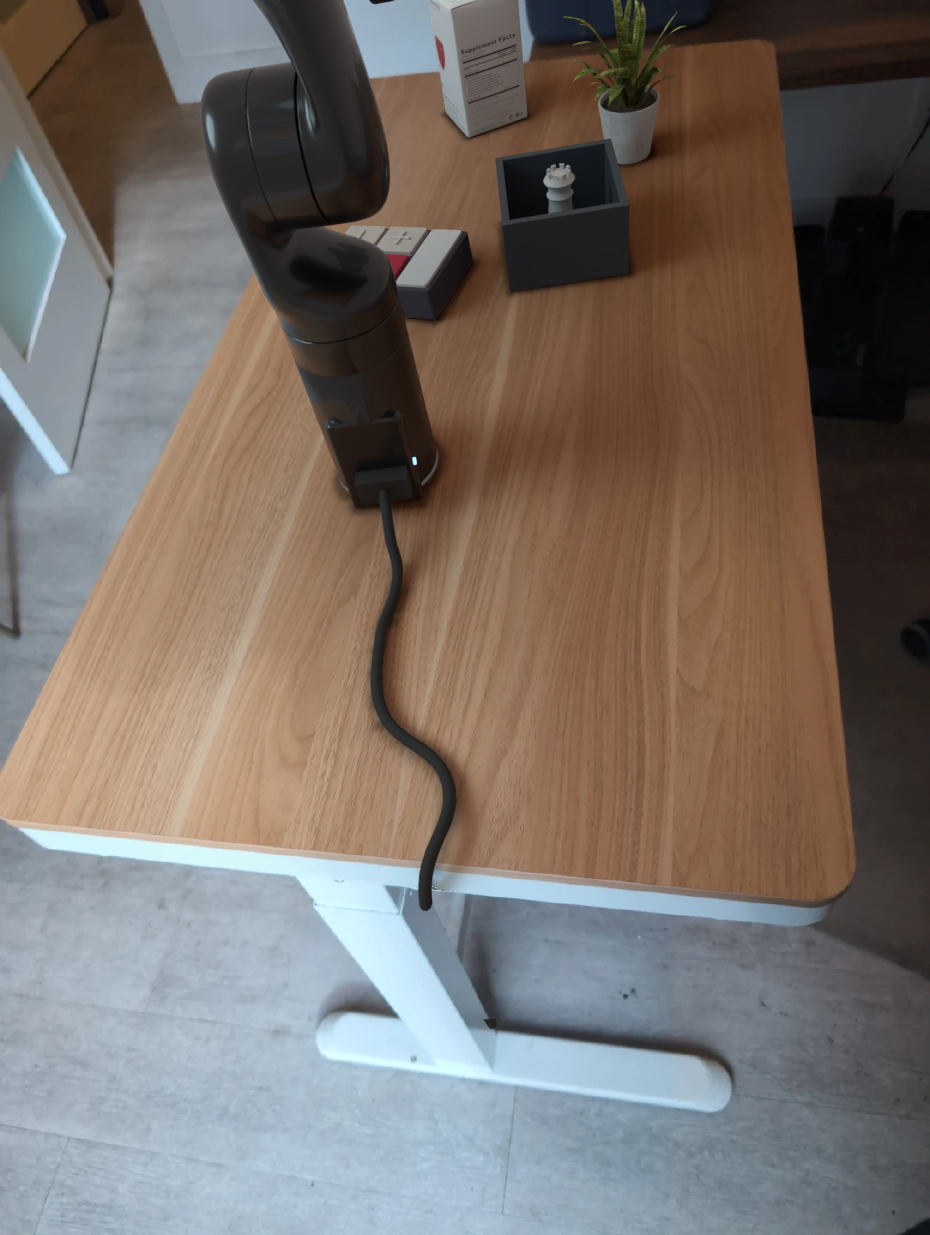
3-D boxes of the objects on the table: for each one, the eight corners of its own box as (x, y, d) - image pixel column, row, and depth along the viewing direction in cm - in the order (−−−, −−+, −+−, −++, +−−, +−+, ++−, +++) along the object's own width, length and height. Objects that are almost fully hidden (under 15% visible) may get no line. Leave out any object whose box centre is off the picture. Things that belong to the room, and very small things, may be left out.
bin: (628, 274, 88) (629, 204, 82) (510, 292, 89) (502, 225, 83) (611, 206, 96) (610, 137, 90) (502, 223, 97) (495, 157, 91)
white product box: (443, 113, 115) (423, -15, 103) (503, 93, 116) (490, -37, 104) (467, 139, 110) (448, 8, 98) (529, 118, 111) (518, -15, 99)
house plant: (548, 140, 107) (538, -10, 93) (651, 110, 107) (656, -43, 94) (585, 192, 98) (580, 36, 85) (697, 160, 99) (709, -1, 85)
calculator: (348, 220, 95) (467, 223, 90) (359, 255, 99) (474, 260, 93) (303, 277, 90) (427, 284, 85) (317, 312, 94) (436, 320, 88)
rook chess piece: (590, 234, 92) (588, 161, 86) (571, 257, 90) (567, 184, 84) (554, 228, 94) (549, 156, 87) (535, 250, 92) (529, 178, 86)
